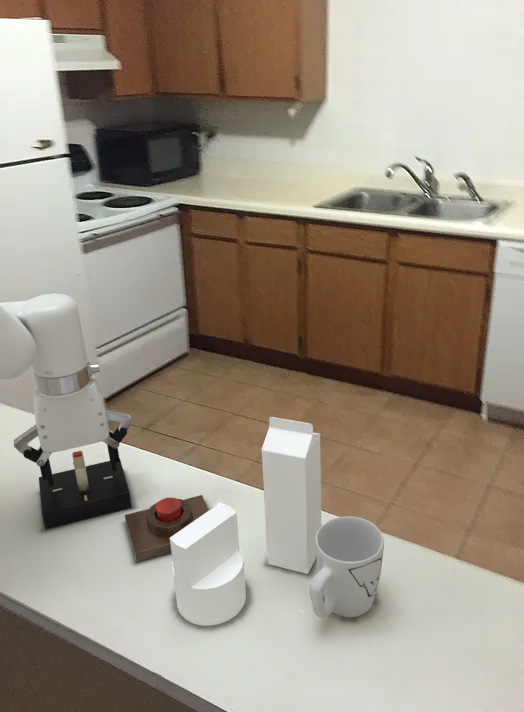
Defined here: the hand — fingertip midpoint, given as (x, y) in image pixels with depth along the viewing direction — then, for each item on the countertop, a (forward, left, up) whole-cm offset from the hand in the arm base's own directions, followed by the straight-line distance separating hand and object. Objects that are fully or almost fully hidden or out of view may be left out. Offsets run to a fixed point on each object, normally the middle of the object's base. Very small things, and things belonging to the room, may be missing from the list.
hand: (82, 473), depth 105 cm
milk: (+26, -25, -5) cm, 36 cm away
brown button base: (+11, -13, -5) cm, 18 cm away
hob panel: (0, 0, -5) cm, 5 cm away
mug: (+28, -36, -5) cm, 46 cm away
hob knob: (0, 0, -2) cm, 2 cm away
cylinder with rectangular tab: (+13, -28, -5) cm, 31 cm away
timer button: (+11, -13, -2) cm, 17 cm away
